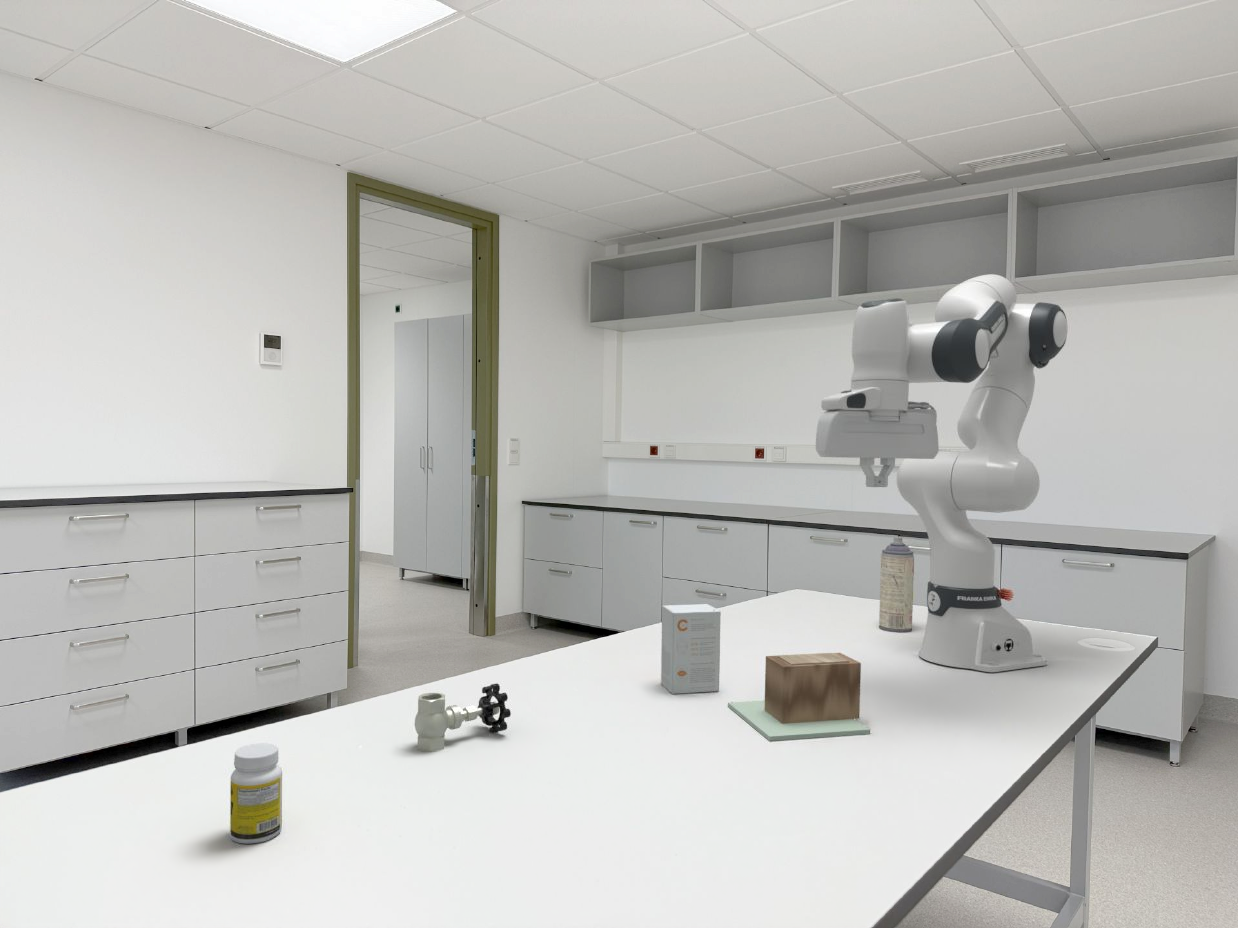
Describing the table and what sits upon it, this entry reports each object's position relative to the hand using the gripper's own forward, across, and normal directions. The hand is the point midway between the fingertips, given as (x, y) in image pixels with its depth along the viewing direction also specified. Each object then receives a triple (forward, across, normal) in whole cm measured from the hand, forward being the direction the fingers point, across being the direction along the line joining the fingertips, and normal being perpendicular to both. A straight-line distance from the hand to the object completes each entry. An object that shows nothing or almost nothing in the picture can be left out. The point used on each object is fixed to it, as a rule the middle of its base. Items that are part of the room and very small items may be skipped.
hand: (876, 487), depth 136 cm
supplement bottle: (+33, +87, +32) cm, 98 cm away
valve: (+34, +66, +9) cm, 75 cm away
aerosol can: (+33, -31, -42) cm, 62 cm away
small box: (+33, +28, -8) cm, 44 cm away
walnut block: (+28, +10, +10) cm, 32 cm away
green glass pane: (+33, +18, +10) cm, 39 cm away
